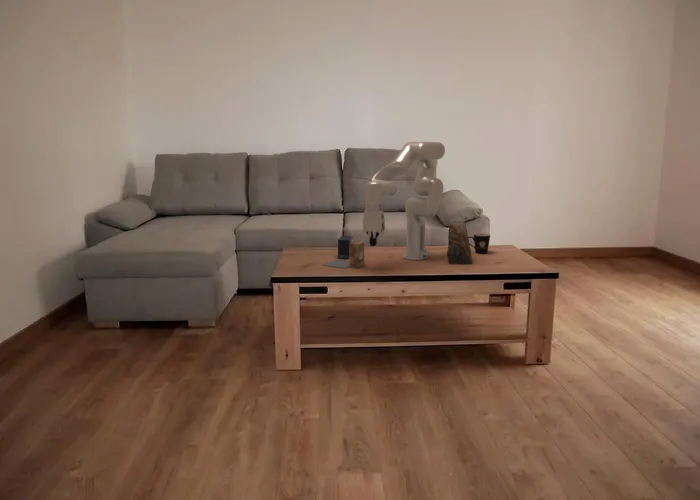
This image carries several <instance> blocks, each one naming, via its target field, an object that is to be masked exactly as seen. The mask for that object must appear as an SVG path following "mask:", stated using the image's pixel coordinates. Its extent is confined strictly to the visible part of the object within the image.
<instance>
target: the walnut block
mask: <svg viewBox="0 0 700 500" xmlns="http://www.w3.org/2000/svg"><path fill="white" fill-rule="evenodd" d="M348 261H349V264H350V267H349V268H354V269H361V268H362V267H364V266H365V241H356V240H355V241H354V240H353V242H352V243H349V259H348Z"/></svg>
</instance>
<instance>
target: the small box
mask: <svg viewBox="0 0 700 500" xmlns="http://www.w3.org/2000/svg"><path fill="white" fill-rule="evenodd" d="M352 242H354V236H352V235H341V236H339V237H338V238H337V260H349V243H352Z"/></svg>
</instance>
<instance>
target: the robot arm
mask: <svg viewBox="0 0 700 500" xmlns="http://www.w3.org/2000/svg"><path fill="white" fill-rule="evenodd" d="M445 154H446V147H445V146H444V144H443V143H442V142H440V141H409V142H408V141H407V143H405V144H404V145H403V147H402V148H401V150H400V151H399V152H398V154H397V155H396V156H395V158H394V159H393V161H392V162H390V163H388V164H387V165H385V166H384V167H382V168H380V169H379V170H378V171H377V172H376V173H375V174H374V175H373V176H372V178H371V180H370V181H368V182H366V184H365V209H364V212H363V215H362V232H363V234H366V235H367V236H368V238H369V246H370V247H376V246H377V244H378V243H377V242H378V237H379V236H383V235H384V233H385V232H384V231H385V230H386V226H385V225H386V220H385V212H384V208H385V206H384V205H383V199H382V198H383V197H392V196H394V195H396V194H397V191H398V185H397V184H396V183H395V182H394V181H392V180H390V179H393V178H396V177H399V176H402V175H404V174H406V173H407V172H408V171H409V170H410V168H411V167H412V165H413V163H414V162H415V161H416V160H417V165H418V167H417V173H416V176H415V180H414V184H413V189H412V190H413V193H414V194H415V195H418V196H420V197H418V196H412V197H409V198H408V199H406V201H405V204H404V208H405V209H404V211H405V216H406V248H405V249H406V252H405V253H404V254H403V258H404V259H405V260H411V261H412V260H413V261H420V260H426V259H427V258H428V257H432V255H433V253H432V251H427V248H426V223H425V218H430V219H431V218H434V217H435V216H436V215H437V214H438V212H439V207H440V205H441V200H442V197H443V192H444V184H443V181H442V180H441V179H439V178H437V177H434V175H435V171H436V169H435V165H434V162H433V160H441V159H442V158H444V155H445ZM421 196H422V197H421ZM426 197H427V198H426Z"/></svg>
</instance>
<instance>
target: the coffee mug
mask: <svg viewBox="0 0 700 500" xmlns="http://www.w3.org/2000/svg"><path fill="white" fill-rule="evenodd" d="M470 238H471V239H472V240H473V242H474V245H472V243H470V247H473V248H474V252H475V254H477V255H486V254H488V250H489V245H490V238H491V234H490V233H487V232H486V233H484V232H478V233H477V232H475V233H473V236H468V239H470Z"/></svg>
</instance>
